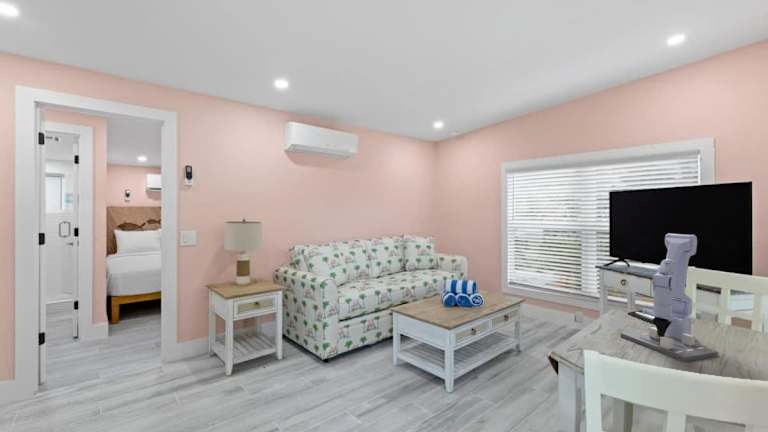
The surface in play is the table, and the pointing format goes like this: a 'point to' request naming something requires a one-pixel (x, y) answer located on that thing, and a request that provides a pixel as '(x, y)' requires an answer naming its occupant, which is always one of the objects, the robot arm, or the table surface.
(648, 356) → the table surface
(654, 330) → the handle
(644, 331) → the breaker panel
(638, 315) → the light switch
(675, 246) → the robot arm
